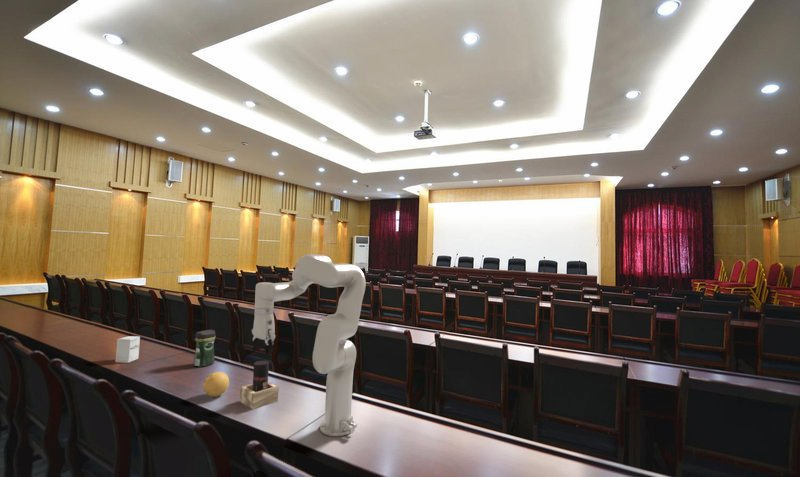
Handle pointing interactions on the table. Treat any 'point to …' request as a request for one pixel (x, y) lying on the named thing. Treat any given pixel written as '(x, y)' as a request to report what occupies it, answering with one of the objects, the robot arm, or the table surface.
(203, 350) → the coffee jar
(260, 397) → the wooden box
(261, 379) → the deodorant
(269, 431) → the table surface
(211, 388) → the stress ball
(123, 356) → the supplement box
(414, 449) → the table surface
